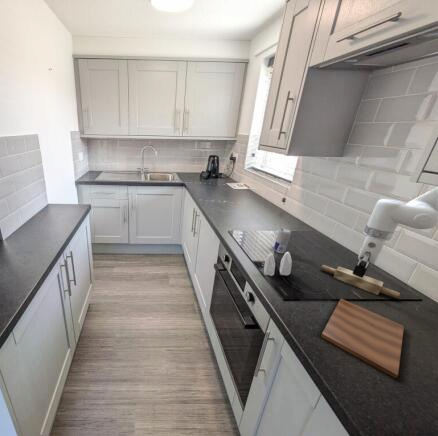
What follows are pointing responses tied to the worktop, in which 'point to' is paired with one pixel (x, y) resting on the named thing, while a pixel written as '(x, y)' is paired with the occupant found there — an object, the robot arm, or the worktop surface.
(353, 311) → the pastry board
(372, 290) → the rolling pin
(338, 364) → the worktop surface
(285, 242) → the energy drink
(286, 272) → the shaker set
